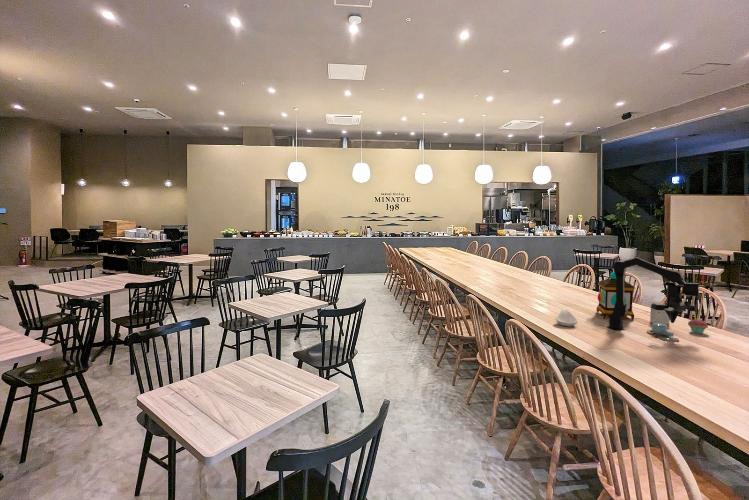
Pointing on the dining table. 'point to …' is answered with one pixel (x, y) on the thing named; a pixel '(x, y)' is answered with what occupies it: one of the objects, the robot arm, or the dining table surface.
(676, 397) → the dining table surface
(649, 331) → the holder ring
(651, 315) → the small box
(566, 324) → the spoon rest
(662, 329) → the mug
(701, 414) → the dining table surface
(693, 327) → the cupcake
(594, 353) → the dining table surface
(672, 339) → the coaster
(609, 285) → the decorative lantern
